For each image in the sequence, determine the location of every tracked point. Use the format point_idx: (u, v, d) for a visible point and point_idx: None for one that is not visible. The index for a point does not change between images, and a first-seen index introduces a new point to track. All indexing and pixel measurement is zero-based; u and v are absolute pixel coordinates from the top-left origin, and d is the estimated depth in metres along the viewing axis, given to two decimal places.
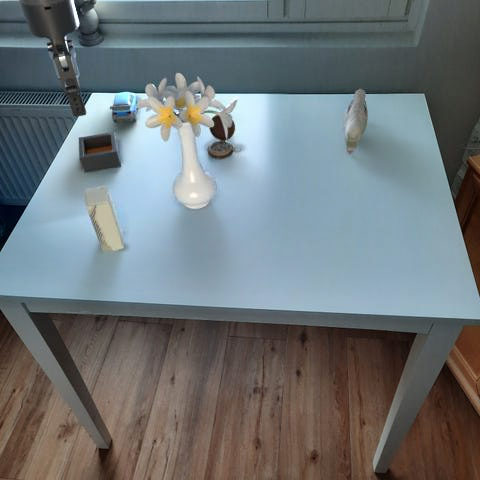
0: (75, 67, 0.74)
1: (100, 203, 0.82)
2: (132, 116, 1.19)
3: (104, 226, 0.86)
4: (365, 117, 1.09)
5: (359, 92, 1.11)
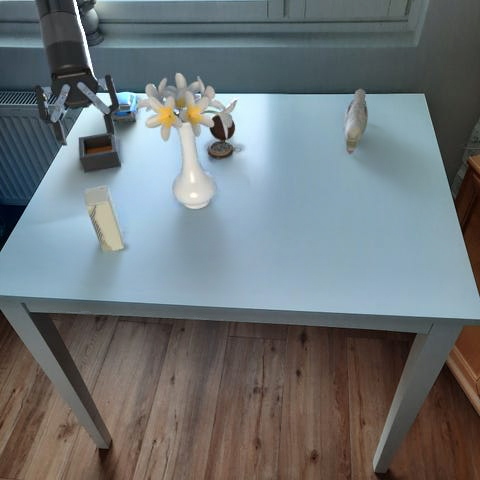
0: None
1: (100, 203, 0.82)
2: (132, 116, 1.19)
3: (104, 226, 0.86)
4: (365, 117, 1.09)
5: (359, 92, 1.11)
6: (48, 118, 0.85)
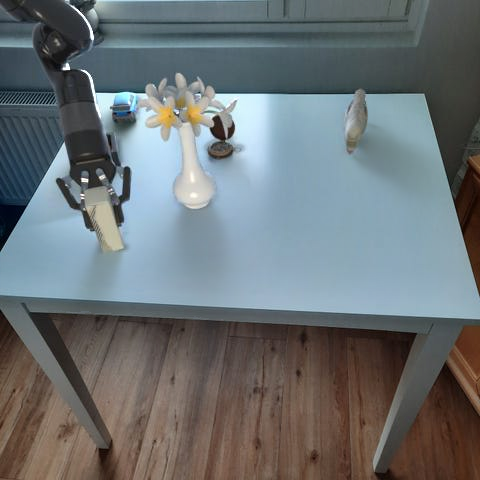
0: None
1: (100, 204, 0.82)
2: (132, 116, 1.19)
3: (104, 226, 0.86)
4: (365, 117, 1.09)
5: (359, 92, 1.11)
6: (77, 206, 0.86)
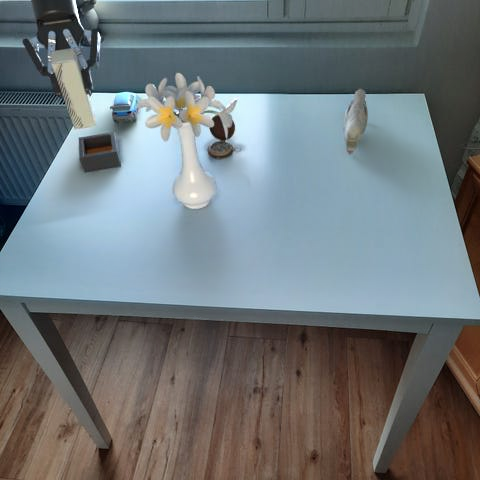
0: None
1: (66, 62, 0.82)
2: (132, 116, 1.19)
3: (72, 91, 0.86)
4: (365, 117, 1.09)
5: (359, 92, 1.11)
6: (45, 70, 0.85)
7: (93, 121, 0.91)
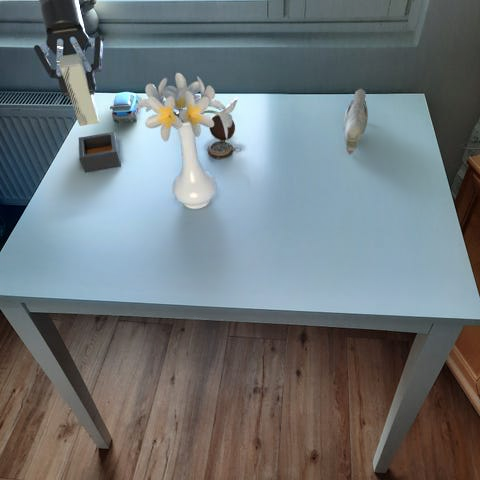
0: None
1: (73, 65, 0.93)
2: (132, 116, 1.19)
3: (77, 91, 0.97)
4: (365, 117, 1.09)
5: (359, 92, 1.11)
6: (54, 72, 0.96)
7: (96, 118, 1.02)
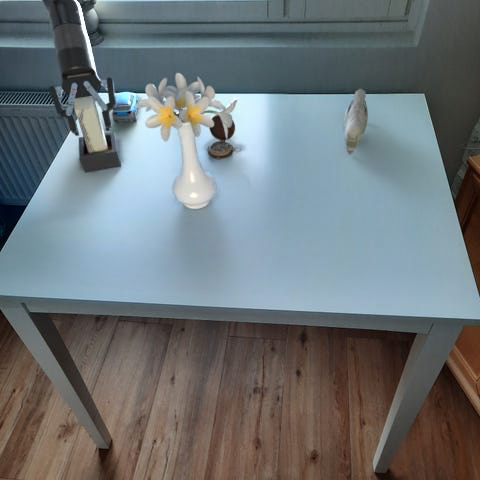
0: None
1: (86, 108, 1.00)
2: (132, 116, 1.19)
3: (90, 131, 1.04)
4: (365, 117, 1.09)
5: (359, 92, 1.11)
6: (64, 112, 1.03)
7: None
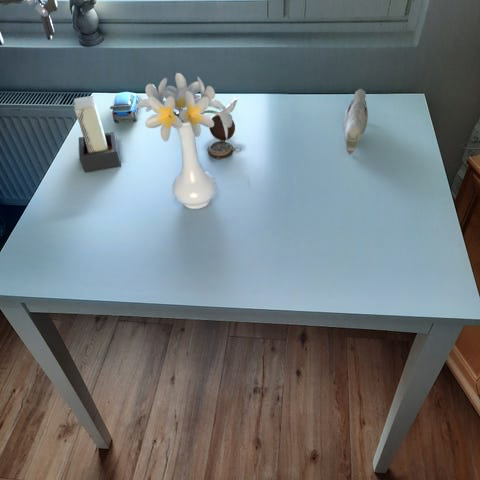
0: None
1: (86, 108, 1.00)
2: (132, 116, 1.19)
3: (90, 131, 1.04)
4: (365, 117, 1.09)
5: (359, 92, 1.11)
6: None
7: None
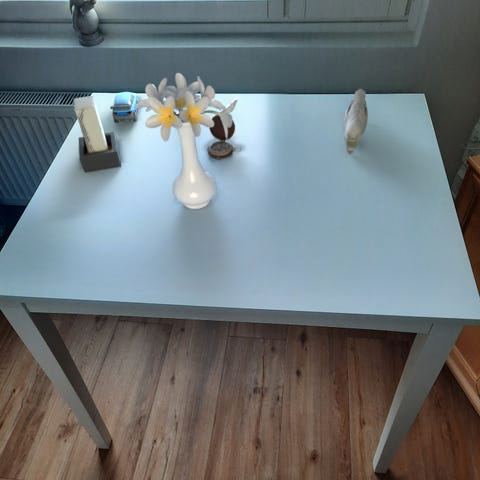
0: None
1: (86, 108, 1.00)
2: (132, 116, 1.19)
3: (90, 131, 1.04)
4: (365, 117, 1.09)
5: (359, 92, 1.11)
6: None
7: None
